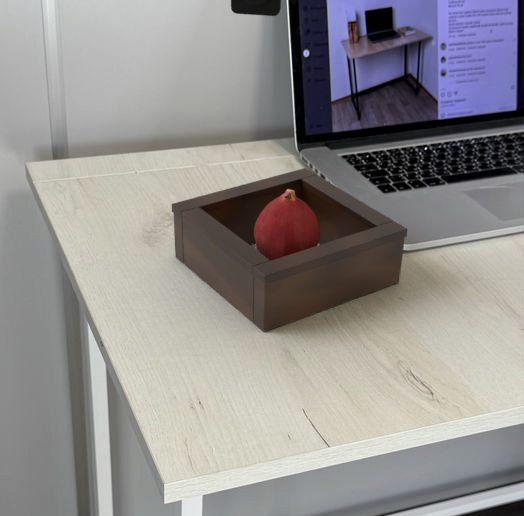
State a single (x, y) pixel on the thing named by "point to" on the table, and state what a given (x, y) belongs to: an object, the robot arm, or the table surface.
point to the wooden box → (294, 265)
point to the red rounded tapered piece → (286, 227)
